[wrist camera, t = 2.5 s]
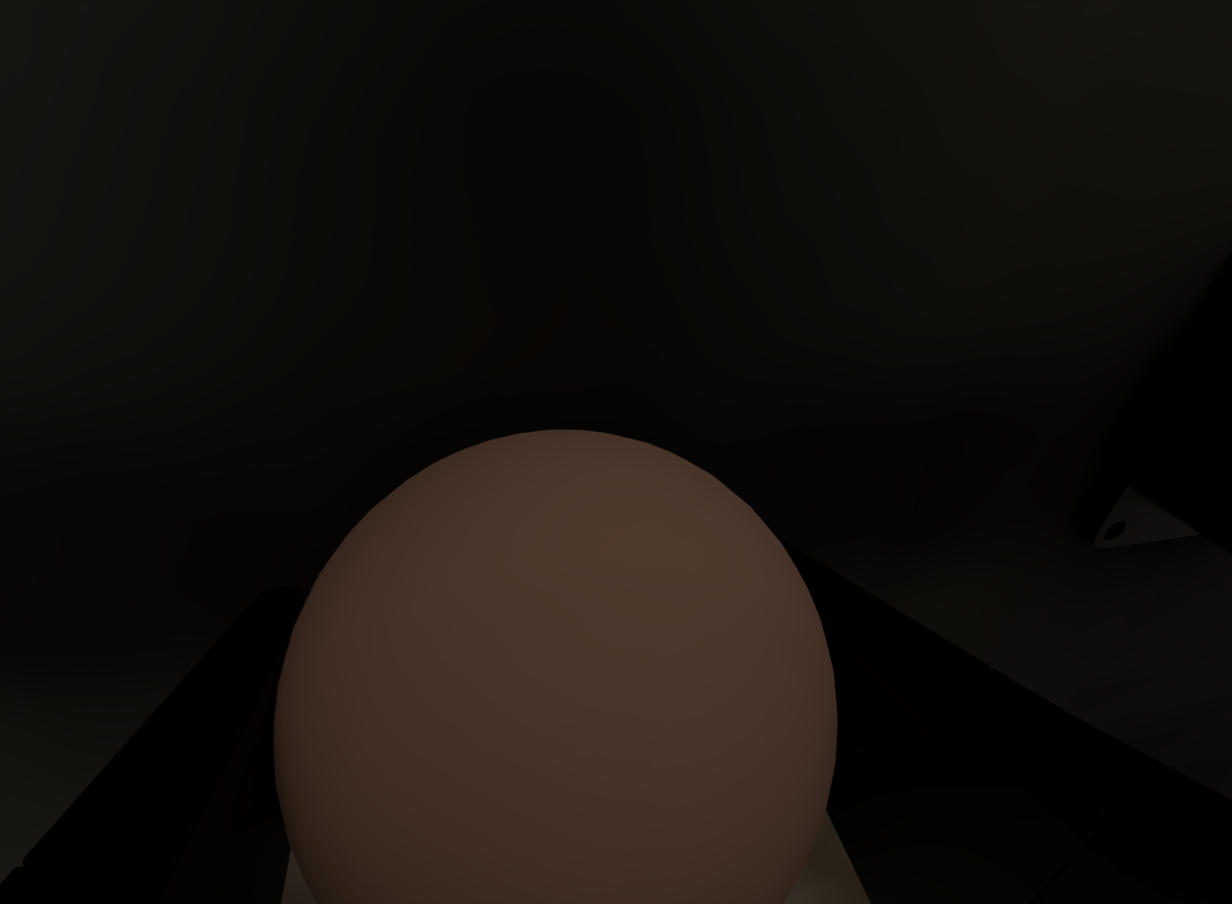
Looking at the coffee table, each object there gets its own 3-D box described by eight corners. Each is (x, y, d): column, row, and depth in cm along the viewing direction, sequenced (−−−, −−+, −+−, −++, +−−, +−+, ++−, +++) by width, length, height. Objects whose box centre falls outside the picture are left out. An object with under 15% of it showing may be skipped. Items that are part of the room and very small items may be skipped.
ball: (740, 339, 9) (1120, 696, 4) (679, 630, 12) (857, 1021, 7) (271, 350, 7) (27, 950, 3) (343, 683, 11) (293, 1228, 6)
